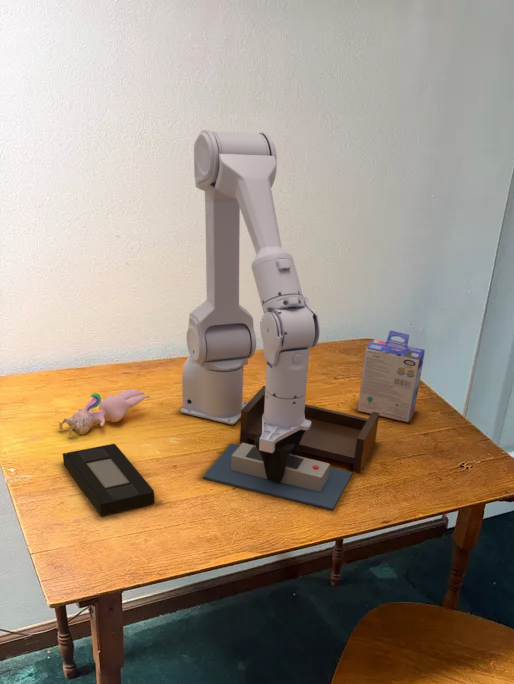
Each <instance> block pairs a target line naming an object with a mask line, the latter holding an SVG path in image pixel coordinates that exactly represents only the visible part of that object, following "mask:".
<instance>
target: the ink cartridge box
mask: <svg viewBox="0 0 514 684" xmlns="http://www.w3.org/2000/svg"><path fill="white" fill-rule="evenodd" d="M393 337H399V338H401V339H403V340H404V342H403V341H398V340H393V339H392V338H393ZM409 338H410V334H408V333H402V332H399V331H394V330H389V332H388V335H387V338H386V341H384V340H380V339H375V338H372V340H371V341H370V342H369V344H367V346H366V347H365V350H364V357H363V366H362V371H361V373H362V374H361V380H360V387H359V396H358V403H357V409H356V410H357V411H358V412H361V413H364V414H365V413H366V414H370V415H371V413H372V411H373V412H378V413H379V417H383V418H388V419H392V420H397V421H400V422H404V423H409V422H410V421H411V419H412V417H413V416H414V414H415V412H416V405H417V399H418V393H419V388H420V383H421V382H420V381H421V378H422V377H421V375H422V370H423V364H424V357H425V352H426V351H425V348H424V349H423V348H418V347H414V346H409V345H408V344H409Z"/></svg>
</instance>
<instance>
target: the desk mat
mask: <svg viewBox="0 0 514 684" xmlns="http://www.w3.org/2000/svg"><path fill="white" fill-rule="evenodd" d="M240 445H241V444H236V443H233V442H232V443H230V444H229V445H228V447H227V448H226V449H225V450H224V451H223V453H221V455H219V457H218V458H217V459H216V461H214V463H213V464H212V465H211V466H210V467H209V469H208V470H207V471H206V472H205V473H204V474H203V476H202V479H204V480H208V481H210V482H215V483H219V484H223V485H226V486H227V485H228V486H232V487H235V488H240V489H243V490H248V491H252V492H255V493H260V494H264V495H267V496H271V497H276V498H280V499H284V500H288V501H292V502H297V503H300V504H305V505H309V506H313V507H315V508H321V509H325V510H328V511H334V509H335V507H336V506H337V503H338V502H339V500H340V498H341V496H342V494H343V492H344V490H345V488H346V487H347V485H348V483H349V482H350V479H351V477H352V476H353V471H347V470H344V469H340V468H335V467H331V466H330V468H329V477H328V480H327V481H326V483H325V485H324V486H323V488H322V490H321V491H320V492H318V491H313V490H309V489H305V488H301V487H297V486H293V485H289V484H285V483H281V482H275V481H271V480H268V479H264V478H260V477H256V476H252V475H248V474H244V473H240V472H236V471H232V470H231V459H232V455H233V453H234V452H235V451H236V450H237V449H238V447H239V446H240Z"/></svg>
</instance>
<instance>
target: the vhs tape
mask: <svg viewBox="0 0 514 684" xmlns="http://www.w3.org/2000/svg"><path fill="white" fill-rule="evenodd" d="M62 461H63V465H64V467H65V469H66V470H67V472H69V474H70V475H71V477H72V478H73V480H74V481H75V482H76V484H77V485H78V487H80V490H81V491H82V492H83V493H84V495H85V496H86V498H87V499H88V501H89V502H90V503H91V505H92V506H93V507H94V509H95V510H96V511H97V513H98V514H99V516H100V517H104V516H108V515H111V514H112V515H113V514H116V513H120V512H125V511H129V510H133V509H137V508H141V507H145V506H150V505H153V504H155V503H156V502H155V490H154V489H153V487H151V485H150V484H149V483H148V482H147V480H146V479H145V478H144V477H143V475H142V474H141V473H140V472H139V471H138V469H137V468H136V467H135V465H133V464H132V462H131V461H130V460H129V459H128V457H126V455H125V454H124V453H123V451H122V450H121V449H120V448H119V447H118V446H117V444H116V443H110V444H105V445H104V444H103V445H99V446H95V447H94V446H93V447H90V448H84V449H79V450H73V451H69V452H63V453H62Z"/></svg>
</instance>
